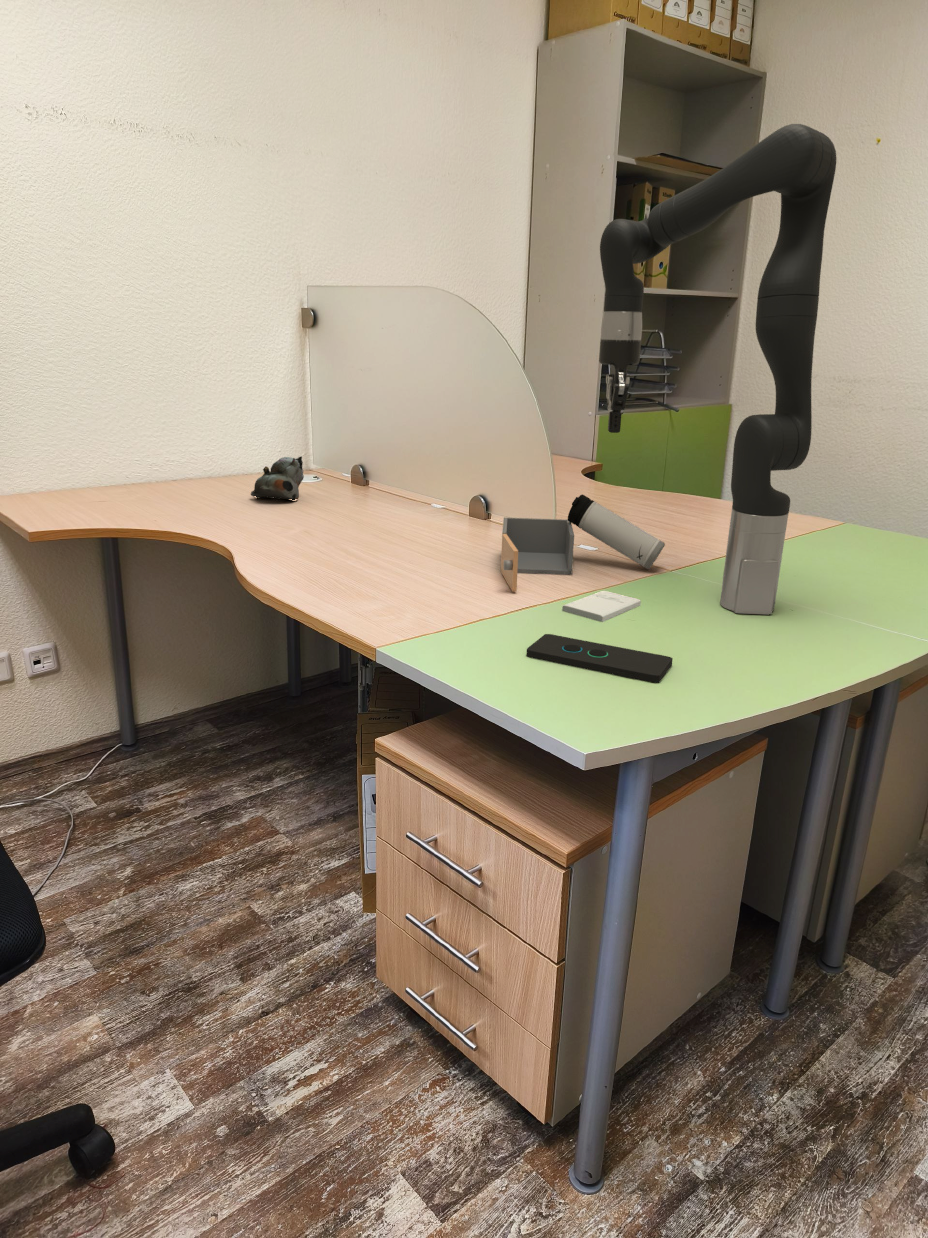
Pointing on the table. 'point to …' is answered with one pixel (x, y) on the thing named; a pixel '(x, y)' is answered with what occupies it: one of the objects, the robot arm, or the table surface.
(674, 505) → the table surface
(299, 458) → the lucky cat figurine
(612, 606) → the external hard drive
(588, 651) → the smart home device
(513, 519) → the storage box
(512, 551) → the side door
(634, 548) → the travel mug
